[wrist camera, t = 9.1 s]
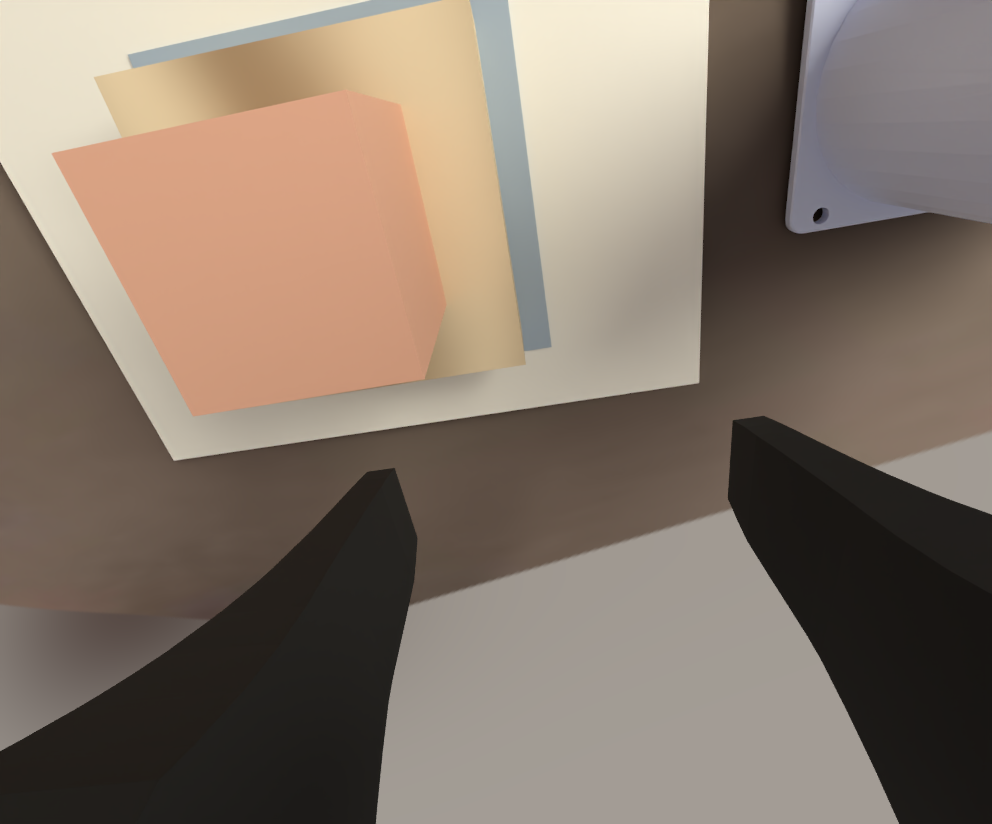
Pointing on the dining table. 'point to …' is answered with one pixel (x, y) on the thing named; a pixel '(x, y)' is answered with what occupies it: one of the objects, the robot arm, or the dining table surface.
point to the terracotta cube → (271, 248)
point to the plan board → (522, 178)
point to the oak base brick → (431, 132)
